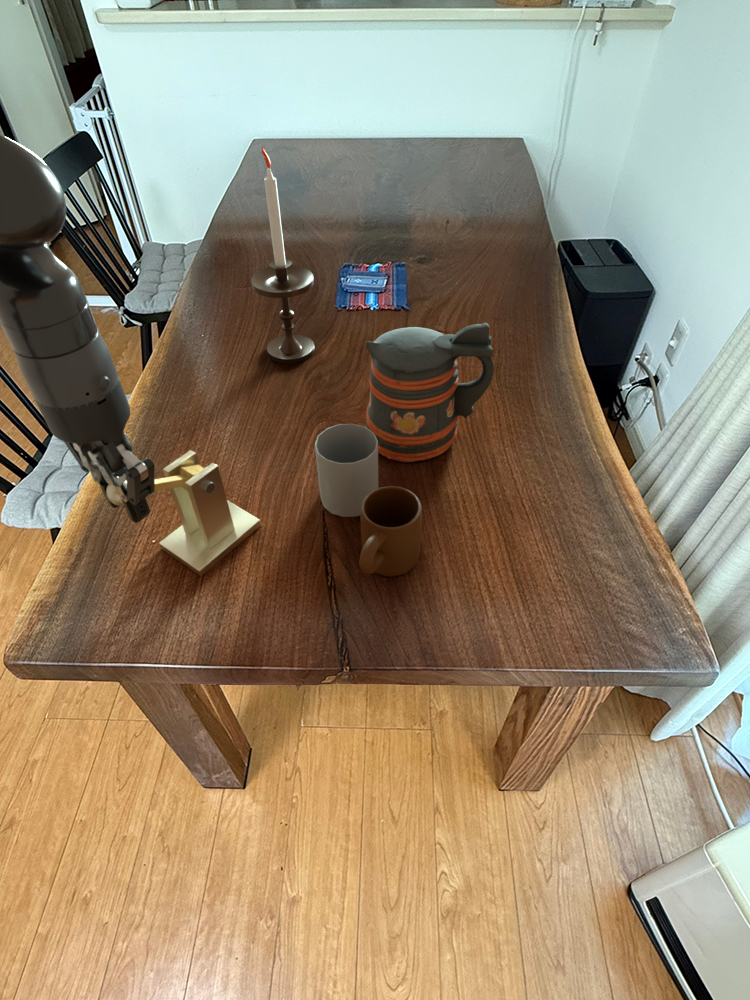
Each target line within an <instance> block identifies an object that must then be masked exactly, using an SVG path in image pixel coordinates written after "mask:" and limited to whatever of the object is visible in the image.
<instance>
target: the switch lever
mask: <svg viewBox="0 0 750 1000" xmlns="http://www.w3.org/2000/svg"><path fill="white" fill-rule="evenodd" d="M205 468H206V467H203V466H202V465H201V464H199V465H193V466H187V467H181V469H180V475H177V476H171V477H166V476H165V477H160V478H155V491H154V492H153V493H156V492H160V491H165V490H170V489H171V488H176V487H182V488H184V489H185V490H187V487H186V484H185V482H187V481H188V480H189V479H191V478H192V477H194V476H195V475H196V474H198V473H199V472H200V471H202V470H203V469H205ZM123 485H124V487H125V488H126V487H127V481H124V483H123ZM187 491H188V490H187ZM106 492H107V497H108V499H109V500H110V501H111V502H112V503H113V504H115V505H118V507H124V504H123V502H122V500H121V498H120V495H119V494H118V492H117V490H116V488H115V486H113V485H111V484H108V486H107V491H106Z"/></svg>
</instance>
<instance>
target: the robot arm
mask: <svg viewBox="0 0 750 1000" xmlns="http://www.w3.org/2000/svg"><path fill="white" fill-rule="evenodd" d="M66 202H67V201H66V196H65V194H64V190H63V188H62V186H61V184H60V181H59V180H58V177H56V175H55V173H54V172H53V171H52V169H51V168H50V167H49V166H48V165H47V164H46V163H45V161H44V160H43V159H42V158H40V157H39V156H38V155H37V154H36V153H34V152H33V151H31V150H30V149H28V148H26V147H25V146H24V145H22V144H20V143H19V142H16V141H15V140H14V139H13V140H12V139H11V138H9V137H7V136H5V135H4V134H1V133H0V326H1V328H2V330H3V332H4V334H5V336H6V338H7V340H8V343H9V344H10V346H11V348H12V351H13V353H14V355H15V358H16V361H17V364H18V365H17V366H18V368H19V370H20V373H21V375H22V377H23V380H24V382H25V384H26V385H27V388H28V389H29V391H30V394H31V395H32V397H33V399H34V401H35V403H36V406H37V407H38V409H39V411H40V413H41V415H42V417H43V419H44V421H45V424H46V425H47V427H48V429H49V431H50V433H51V434H52V435H53V436H54V437H55V438H56V439H58V440H60V441H62V442H63V443H64V445H66V447H67V449H68V450H69V452H70V453H71V455H72V456H73V458H74V459H75V461H76V462H77V463H78V465H79V466H80V469H81V470H82V471H83V472H84V473H86V474H87V473H90V474H91V478H92V480H93V481H94V482H96V483H97V484H98V485H99V487H100V489H101V491H102V493H103V495H104V498H105V499H106V502H107V504H108V505H109V506H110V507H111V508H113V509H117V508H118V507H119V506H118V505H115V504H113V503H112V502H111V501H110V500H109V499H108V497H107V492H106V491H107V486H108V484H111V485H113V486H115V488H116V490H117V492H118V494H119V495H120V498H121V500H122V502H123V504H124V506H123V507H124V509H125V512H126V513H127V516H128V518H129V520H130V521H132V522H133V523H135V524H138V523H139V522H141V521H142V520H144V519H145V518H146V517H148V516H149V515H150V514H151V509H150V506H149V504H148V501H147V497H149V495H152V494H153V493H155V492H156V491H155V479H156V478H155V477H156V476H155V475H156V474H155V464H154V462H153V460H152V459H150V458H149V457H145V458H143V459H142V460H140V459H139V458H138V457H137V456H136V455H135V453H134V452H133V445H132V442H131V441H130V439H129V437H128V435H127V433H126V432H124V431H125V428H126V425H127V423H128V421H129V419H130V416H131V406H130V404H129V400H128V397H127V395H126V393H125V389H124V387H123V385H122V382H121V379H120V376H119V374H118V371H117V368H116V366H115V363H114V360H113V358H112V354H111V352H110V350H109V348H108V346H107V344H106V341H105V340H104V338H103V336H102V334H101V332H100V330H99V328H98V325H97V323H96V320H95V317H94V314H93V311H92V309H91V307H90V304H89V301H88V299H87V296H86V293H85V290H84V288H83V286H82V284H81V283H80V280H79V278H78V276H77V275H76V274H75V272H74V271H73V270H72V269H71V268H70V267H68V266H67V265H66V264H65V263H64V262H62V261H61V260H60V259H59V258H58V257H57V256H56V255H55V253H53V251H52V250H51V249H50V247H49V245H48V244H49V243H50V242H52V241H53V240H55V239H56V238H57V236H58V235H59V234H60V233H61V231H62V229H63V228H64V225H65V222H66V217H67V203H66ZM124 481H127V487H126V488H125V487H124V485H123V483H124ZM154 491H155V492H154Z"/></svg>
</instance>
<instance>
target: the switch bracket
mask: <svg viewBox="0 0 750 1000" xmlns="http://www.w3.org/2000/svg"><path fill="white" fill-rule="evenodd" d="M193 465H200V462H199V458H198V455H197V453H196V452H195V451H194V450H192V449H190V450H188V451H187V452H186V453H184V454H183V455H181V456H180V457H178V458H176V459H175V460H173V462H171V463H170V464H168V465H167V466H165V467H164V468H163V469H162V471H163V475H164V476H165V478H166V477H171V476H177V475H180V469H181V467H187V466H193ZM204 468H205V469H203V470H202V471H200V472H199V473H198V474H196V475H195V476H194V477H192V478H191V479H189V480H188V481H187V482H185V484H186V487H187V490H188V491H187V490H185V489H184V488H182V487H176V488H171V489H169V490H170V493H171V497H172V499H173V502H174V505H175V507H176V511H177V513H178V517H179V519H180V521H181V525H180V526H178V527H177V528H176V529H175V530H173V531H172V532H171V533H169V534H168V535H167V536H166V537H164V538H163V539H162V540H161V541H159V542H158V546H159V547H160V549H161V550H162V551H164V553H167V554H168V555H169V556H171V557H172V558H173V559H175V560H176V561H178V562H180V563H181V565H184V566H185V567H187V568H188V569H189V570H191V571H192V572H194V573H195V574H197V575H198V576H199V577H202V576H204V574H206V573H207V572H209V571H210V570H211V569H212V568H213V567H214V566H216V565H217V564H218V563H219V562H220V561H222V560H223V559H224V558H225V557H227V556H228V554H230V553H231V552H232V551H233V550H235V549H236V548H237V547H238V546H240V544H241V543H243V542H244V541H245V540H246V539H247V538H249V537H250V536H252V534H254V532H255V531H257V530H258V529H259V528H260V527H262V523H261V519H259V518H258V517H256V516H254V515H253V514H251V513H250V512H248V511H246V510H244V509H242V508H241V507H239V506H237V505H236V504H234V503H232V502H231V501H229V500H228V498H227V494H226V490H225V487H224V483H223V479H222V474H221V472H220V467H219V465H218V464H216V463H214V462H211V463H210V464H209V465H207V466H206V467H204Z"/></svg>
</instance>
